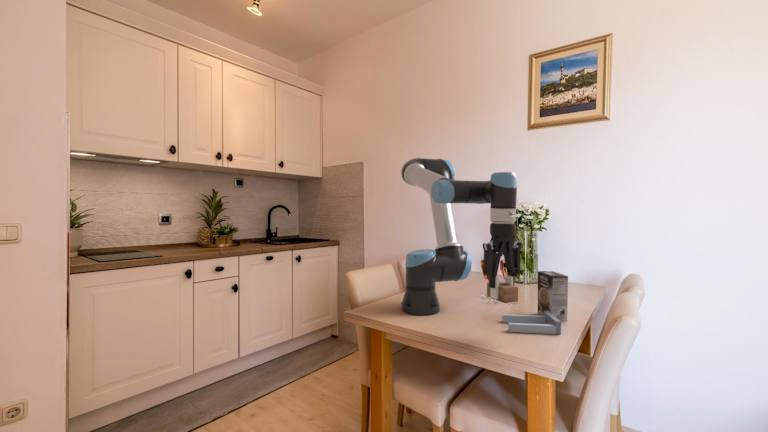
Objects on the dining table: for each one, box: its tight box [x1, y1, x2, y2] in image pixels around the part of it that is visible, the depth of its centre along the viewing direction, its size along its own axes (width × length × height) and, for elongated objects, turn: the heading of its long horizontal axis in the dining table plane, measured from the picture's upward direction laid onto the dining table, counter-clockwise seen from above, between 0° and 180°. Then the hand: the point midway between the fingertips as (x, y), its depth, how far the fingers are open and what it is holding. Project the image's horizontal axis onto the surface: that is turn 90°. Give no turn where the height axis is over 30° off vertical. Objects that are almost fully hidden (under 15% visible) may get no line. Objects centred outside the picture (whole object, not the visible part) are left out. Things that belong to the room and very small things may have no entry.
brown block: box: [486, 280, 519, 304], centre depth 100 cm, size 8×5×4 cm, turn 22°
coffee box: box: [537, 270, 569, 322], centre depth 118 cm, size 9×6×16 cm
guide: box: [501, 311, 562, 335], centre depth 108 cm, size 16×10×4 cm
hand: (501, 296), depth 101 cm, fingers closed on brown block, 5 cm apart
